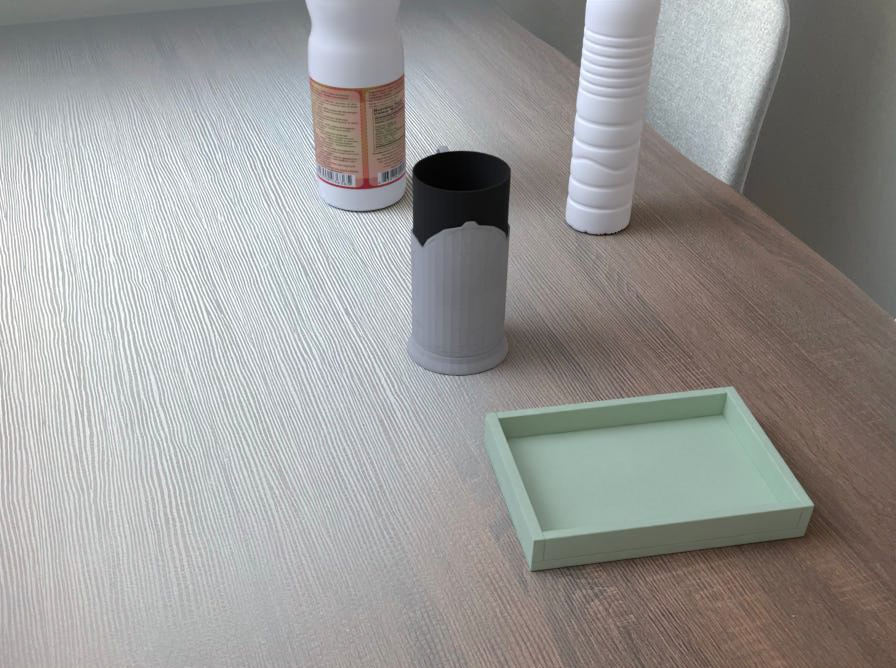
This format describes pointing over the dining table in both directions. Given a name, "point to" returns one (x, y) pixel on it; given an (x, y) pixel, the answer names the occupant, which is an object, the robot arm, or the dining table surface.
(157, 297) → the dining table surface
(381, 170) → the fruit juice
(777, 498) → the rectangular tray
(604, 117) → the water bottle
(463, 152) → the glass holder
